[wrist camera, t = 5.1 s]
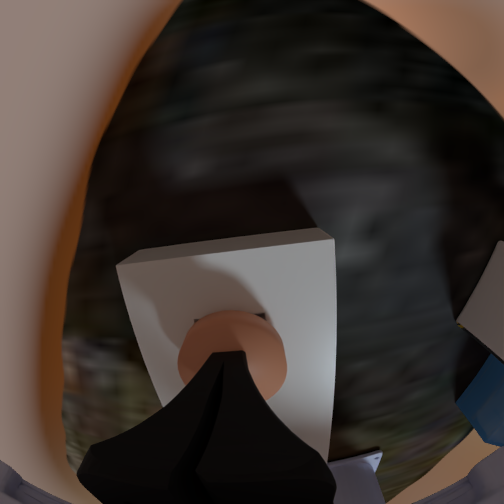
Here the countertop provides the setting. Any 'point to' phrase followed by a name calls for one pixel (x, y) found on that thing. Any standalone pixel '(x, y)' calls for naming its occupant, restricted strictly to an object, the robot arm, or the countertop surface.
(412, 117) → the countertop surface
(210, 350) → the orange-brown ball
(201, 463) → the robot arm
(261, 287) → the panel
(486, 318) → the medicine bottle
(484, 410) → the perfume bottle
